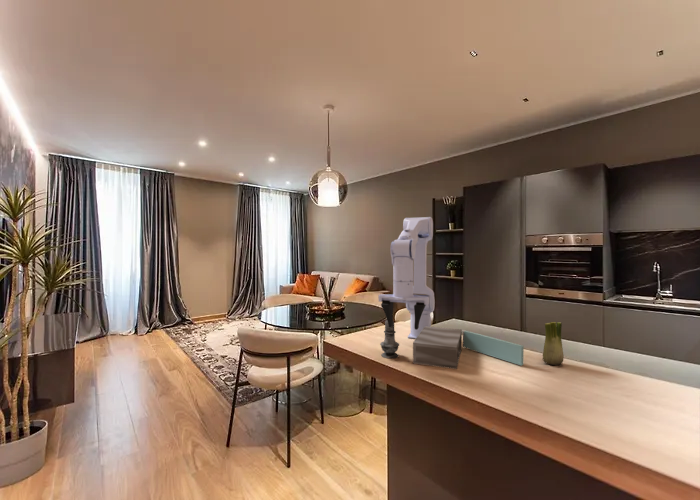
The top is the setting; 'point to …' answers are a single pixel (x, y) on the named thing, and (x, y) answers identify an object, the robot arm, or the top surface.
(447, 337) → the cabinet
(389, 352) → the salt shaker
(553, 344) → the fennel bulb
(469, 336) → the door
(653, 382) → the top surface
